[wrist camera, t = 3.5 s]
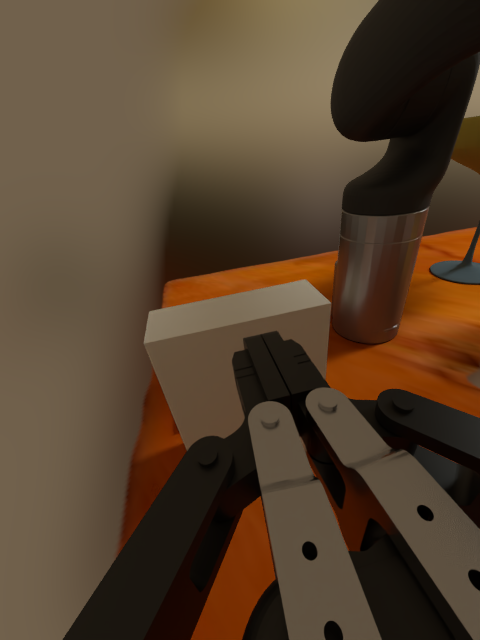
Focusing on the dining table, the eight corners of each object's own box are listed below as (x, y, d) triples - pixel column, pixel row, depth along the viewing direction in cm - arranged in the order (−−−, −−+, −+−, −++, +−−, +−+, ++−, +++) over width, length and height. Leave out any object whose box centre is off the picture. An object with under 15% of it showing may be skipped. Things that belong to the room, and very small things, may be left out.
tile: (195, 438, 28) (149, 309, 19) (302, 410, 29) (304, 278, 21) (198, 479, 24) (143, 343, 16) (320, 445, 26) (331, 302, 17)
